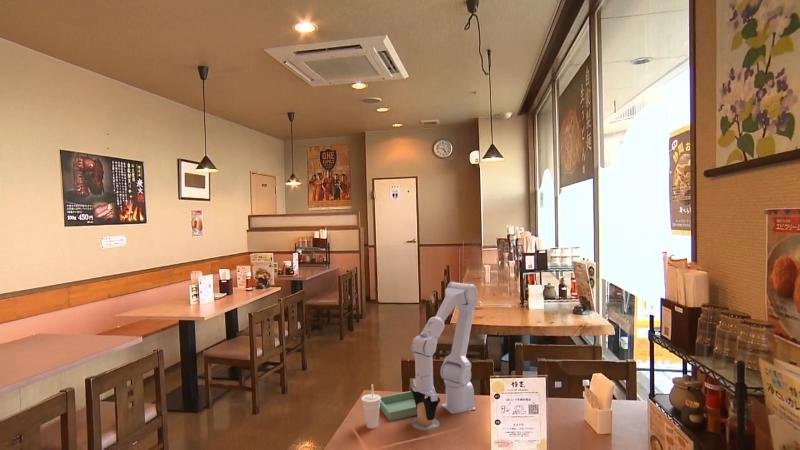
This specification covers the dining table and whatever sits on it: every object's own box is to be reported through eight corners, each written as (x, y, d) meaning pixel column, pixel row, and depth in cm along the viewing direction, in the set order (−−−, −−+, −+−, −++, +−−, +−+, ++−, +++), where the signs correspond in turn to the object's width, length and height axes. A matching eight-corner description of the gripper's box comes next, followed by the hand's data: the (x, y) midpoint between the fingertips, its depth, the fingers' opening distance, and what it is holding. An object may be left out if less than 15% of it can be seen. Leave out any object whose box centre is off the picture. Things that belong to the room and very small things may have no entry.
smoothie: (379, 432, 137) (378, 388, 137) (360, 431, 138) (358, 387, 137) (383, 422, 143) (382, 380, 143) (364, 422, 144) (363, 380, 144)
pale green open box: (417, 398, 161) (417, 389, 161) (432, 412, 149) (432, 403, 149) (376, 406, 155) (376, 397, 155) (389, 422, 143) (389, 412, 143)
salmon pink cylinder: (428, 418, 144) (428, 400, 144) (434, 425, 139) (434, 406, 139) (415, 421, 142) (414, 403, 142) (421, 427, 138) (420, 409, 138)
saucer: (431, 416, 147) (431, 414, 147) (444, 428, 139) (444, 426, 139) (407, 421, 143) (407, 419, 143) (418, 434, 135) (418, 432, 135)
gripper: (404, 368, 146) (405, 407, 146) (422, 383, 132) (423, 427, 133) (423, 364, 148) (424, 403, 149) (443, 379, 135) (444, 422, 135)
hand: (425, 414), depth 141 cm, fingers open, 7 cm apart
